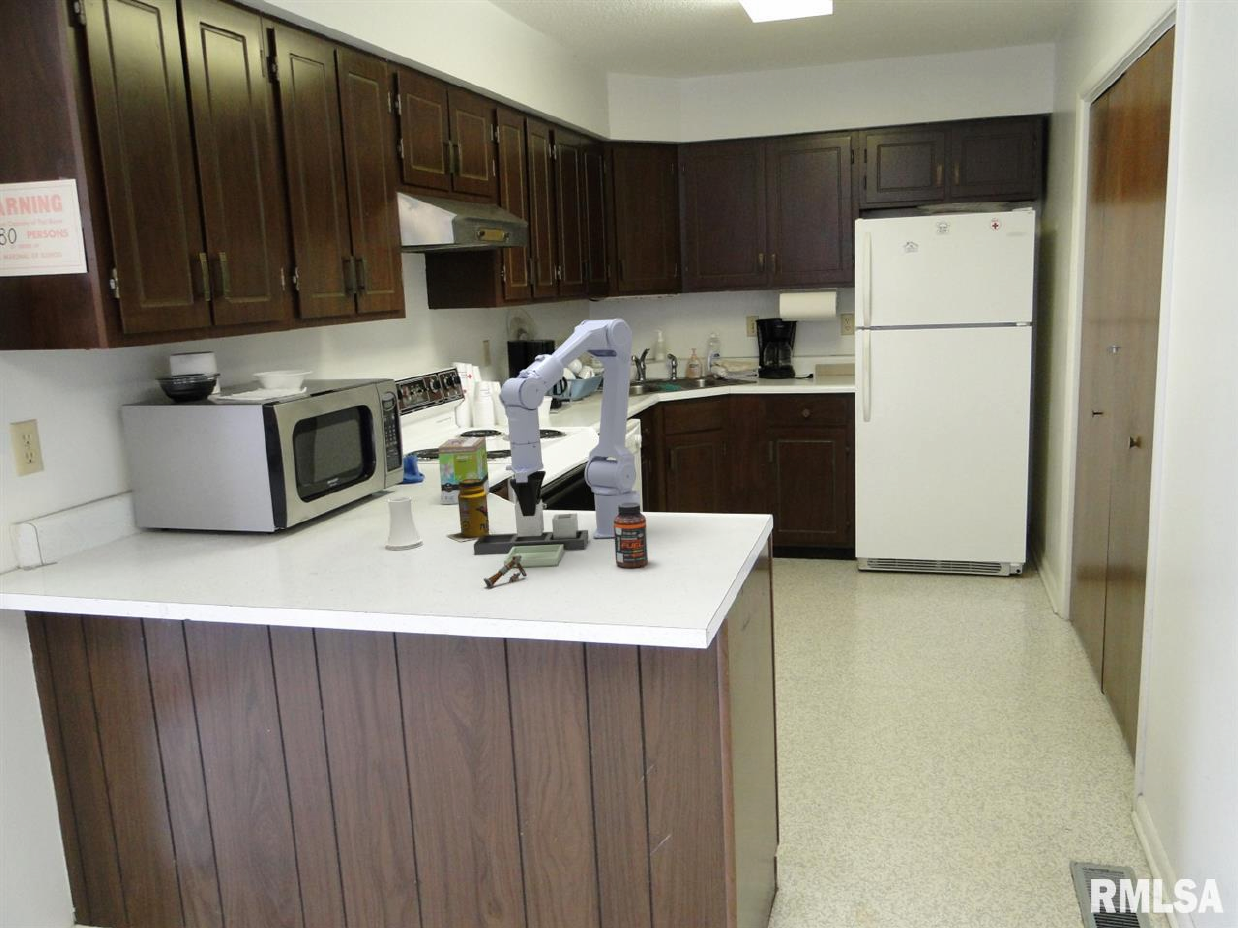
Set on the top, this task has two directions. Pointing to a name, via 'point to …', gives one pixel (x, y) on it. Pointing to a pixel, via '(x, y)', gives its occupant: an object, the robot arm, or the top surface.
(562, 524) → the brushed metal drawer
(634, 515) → the supplement bottle
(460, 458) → the tea box
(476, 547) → the rack frame
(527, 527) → the grey box
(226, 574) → the top surface
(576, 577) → the top surface
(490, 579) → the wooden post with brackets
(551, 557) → the parts tray
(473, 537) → the condiment
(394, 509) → the vase
